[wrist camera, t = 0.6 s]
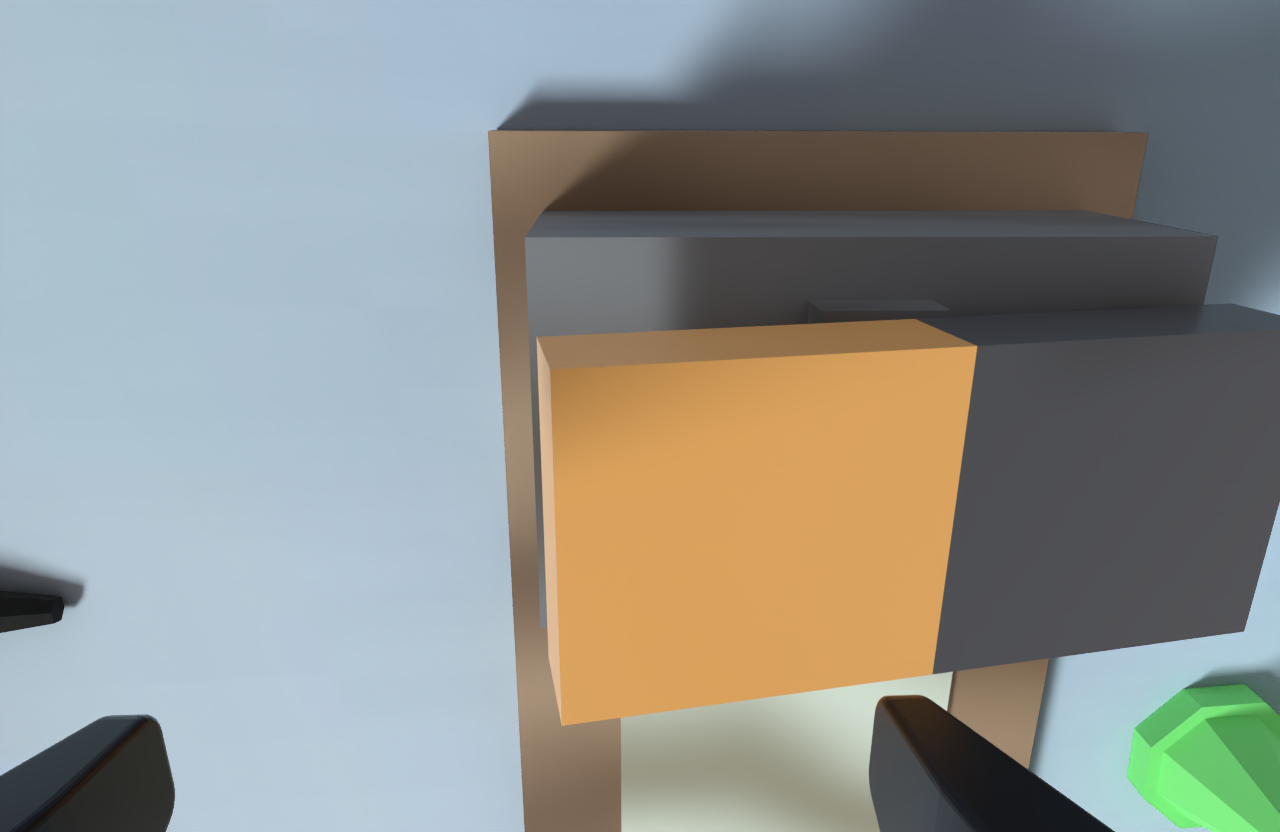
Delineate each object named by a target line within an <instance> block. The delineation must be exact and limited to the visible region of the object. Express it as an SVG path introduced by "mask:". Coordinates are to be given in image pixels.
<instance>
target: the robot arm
mask: <svg viewBox="0 0 1280 832" xmlns="http://www.w3.org/2000/svg"><path fill="white" fill-rule="evenodd" d="M869 786H870V792H871V797H872V802H873V806H874V810H875V813H876V817H877V821H878V825H879V829H880V832H1115V831H1113V830H1112V829H1110V828H1109V827H1108V826H1106V825H1105V824H1104V823H1102V822H1101V821H1099V820H1098V819H1097V818H1095V817H1094V816H1092V815H1091V814H1090V813H1088V812H1087V811H1085V810H1084V809H1083V808H1081V807H1080V806H1078V805H1077V804H1076V803H1074V802H1073V801H1071V800H1070V799H1069V798H1067V797H1066V796H1064V795H1063V794H1062V793H1060V792H1059V791H1058V790H1056V789H1055V788H1053V787H1052V786H1051V785H1049V784H1048V783H1046V782H1045V781H1044V780H1042V779H1041V778H1039V777H1038V776H1037V775H1035V774H1034V773H1032V772H1031V771H1030V770H1028V769H1027V768H1025V767H1024V766H1023V765H1021V764H1020V763H1018V762H1017V761H1016V760H1014V759H1013V758H1012V757H1010V756H1009V755H1007V754H1006V753H1005V752H1003V751H1002V750H1000V749H999V748H998V747H996V746H995V745H993V744H992V743H991V742H989V741H988V740H986V739H985V738H984V737H982V736H981V735H979V734H978V733H977V732H975V731H974V730H972V729H971V728H970V727H968V726H967V725H966V724H964V723H963V722H961V721H960V720H959V719H957V718H956V717H954V716H953V715H952V714H950V713H949V712H947V711H946V710H945V709H943V708H942V707H940V706H939V705H938V704H936V703H935V702H933V701H932V700H931V699H929V698H927V697H925V696H922V695H892V696H883V697H882V698H881V699H880V700H879V701H878V703H877V705H876V708H875V715H874V724H873V733H872V743H871V752H870V761H869ZM174 801H175V788H174V782H173V778H172V773H171V769H170V765H169V760H168V756H167V751H166V747H165V743H164V738H163V734H162V730H161V727H160V724H159V723H158V721H157V720H156V719H155V718H154V717H152V716H150V715H112V716H106V717H102V718H100V719H98V720H96V721H94V722H93V723H91V724H89V725H87V726H86V727H84V728H82V729H81V730H79V731H77V732H75V733H74V734H72V735H70V736H68V737H67V738H65V739H63V740H62V741H60V742H58V743H56V744H55V745H53V746H51V747H49V748H48V749H46V750H44V751H42V752H41V753H39V754H37V755H36V756H34V757H32V758H30V759H29V760H27V761H25V762H23V763H22V764H20V765H18V766H16V767H15V768H13V769H11V770H10V771H8V772H6V773H4V774H3V775H1V776H0V832H166V830H167V827H168V825H169V822H170V819H171V816H172V813H173V808H174Z"/></svg>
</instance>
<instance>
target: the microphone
mask: <svg viewBox="0 0 1280 832" xmlns="http://www.w3.org/2000/svg"><path fill="white" fill-rule="evenodd" d="M63 610H64V604H63V602H62V599H61V597H56V596H45V595H35V594H24V593H13V592H3V591H0V633H2V632H8V631H13V630H19V629H25V628H30V627H36V626H42V625H47V624H53V623H56V622H58V621H60V620H61V619H62V615H63Z"/></svg>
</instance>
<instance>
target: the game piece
mask: <svg viewBox="0 0 1280 832" xmlns="http://www.w3.org/2000/svg"><path fill="white" fill-rule="evenodd" d="M1127 778H1128V779H1129V781H1130V782H1131V783H1132V784H1133V786H1134V787H1135V788H1136V790H1137V791H1138V792H1139V793H1140V795H1141V796H1142V797H1143V798H1144V799H1145V800H1146V801H1147V802H1149V803H1150V804H1151V805H1152V806H1153V807H1155V808H1156V809H1157V810H1158V811H1160V812H1161V813H1162V814H1163V815H1164V816H1166V817H1167V818H1168V819H1169V820H1170V821H1172V822H1173V823H1174V824H1175V825H1176V826H1178V827H1179V828H1191V827H1205V828H1206V829H1208V830H1210V831H1212V832H1280V715H1278V714H1277V713H1276V712H1275V711H1274V710H1273V709H1272V708H1271V707H1270V706H1269V705H1268V704H1267V703H1266V702H1264V701H1263V700H1262V699H1261V698H1260V697H1259V696H1258V695H1257V694H1255V693H1254V692H1253V691H1252V690H1251V689H1250V688H1249V687H1248V686H1246V685H1245V684H1237V685H1225V686H1212V687H1200V688H1187V689H1182V690H1181V691H1180V692H1179V693H1178V694H1176V695H1175V696H1174V697H1173V698H1171V699H1170V700H1169V701H1168V702H1166V703H1165V704H1164V705H1163V706H1161V707H1160V708H1159V709H1158V710H1156V711H1155V712H1154V713H1153V714H1152V715H1150V716H1149V717H1148V718H1147V719H1145V720H1144V721H1143V722H1142V723H1140V724H1139V725H1138V726H1137V727H1135V728H1134V734H1133V741H1132V747H1131V754H1130V760H1129V767H1128V774H1127Z"/></svg>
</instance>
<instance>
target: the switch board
mask: <svg viewBox="0 0 1280 832" xmlns="http://www.w3.org/2000/svg"><path fill="white" fill-rule="evenodd" d="M488 138H489V157H490V176H491V195H492V214H493V233H494V252H495V271H496V291H497V310H498V329H499V348H500V367H501V386H502V405H503V424H504V443H505V462H506V482H507V501H508V520H509V539H510V558H511V577H512V596H513V615H514V634H515V654H516V673H517V692H518V711H519V730H520V749H521V768H522V787H523V806H524V826H525V832H880V829H879V825H878V821H877V817H876V813H875V810H874V806H873V802H872V797H871V792H870V786H869V761H870V752H871V743H872V733H873V724H874V715H875V708H876V705H877V703H878V701H879V700H880V699H881V698H882V697H883V696H892V695H922V696H925V697H927V698H929V699H931V700H932V701H933V702H935V703H936V704H938V705H939V706H940V707H942V708H943V709H945V710H946V711H947V712H949V713H950V714H952V715H953V716H954V717H956V718H957V719H959V720H960V721H961V722H963V723H964V724H966V725H967V726H968V727H970V728H971V729H972V730H974V731H975V732H977V733H978V734H979V735H981V736H982V737H984V738H985V739H986V740H988V741H989V742H991V743H992V744H993V745H995V746H996V747H998V748H999V749H1000V750H1002V751H1003V752H1005V753H1006V754H1007V755H1009V756H1010V757H1012V758H1013V759H1014V760H1016V761H1017V762H1018V763H1020V764H1021V765H1023V766H1024V767H1025V768H1027V769H1028V768H1029V763H1030V758H1031V752H1032V747H1033V742H1034V737H1035V731H1036V726H1037V721H1038V715H1039V710H1040V705H1041V699H1042V694H1043V689H1044V684H1045V678H1046V673H1047V668H1048V662H1049V658H1048V659H1041V660H1034V661H1026V662H1019V663H1012V664H1005V665H997V666H990V667H983V668H976V669H969V670H961V671H954V672H947V673H940V674H933V675H925V676H918V677H911V678H904V679H897V680H889V681H882V682H875V683H868V684H860V685H853V686H846V687H839V688H832V689H824V690H817V691H810V692H803V693H796V694H788V695H781V696H774V697H767V698H759V699H752V700H745V701H738V702H731V703H723V704H716V705H709V706H702V707H695V708H687V709H680V710H673V711H666V712H658V713H651V714H644V715H637V716H630V717H622V718H615V719H608V720H601V721H594V722H586V723H579V724H572V725H565V726H562V725H561V719H560V714H559V709H558V704H557V699H556V693H555V688H554V683H553V678H552V672H551V667H550V662H549V655H548V629H547V602H546V575H545V549H544V522H543V495H542V469H541V442H540V415H539V389H538V362H537V337H544V336H565V335H586V334H607V333H628V332H649V331H670V330H691V329H712V328H733V327H754V326H775V325H796V324H817V323H838V322H859V321H880V320H900V319H921V318H942V317H963V316H984V315H1005V314H1026V313H1047V312H1068V311H1089V310H1110V309H1131V308H1152V307H1173V306H1194V305H1203V302H1204V298H1205V293H1206V289H1207V284H1208V280H1209V275H1210V271H1211V266H1212V262H1213V257H1214V253H1215V248H1216V244H1217V239H1218V236H1213V235H1208V234H1203V233H1198V232H1193V231H1188V230H1183V229H1178V228H1173V227H1168V226H1163V225H1157V224H1152V223H1147V222H1142V221H1137V220H1132V218H1133V212H1134V207H1135V202H1136V197H1137V191H1138V186H1139V181H1140V175H1141V170H1142V165H1143V160H1144V154H1145V149H1146V144H1147V138H1148V133H1136V132H939V131H592V130H492V131H488Z"/></svg>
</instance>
